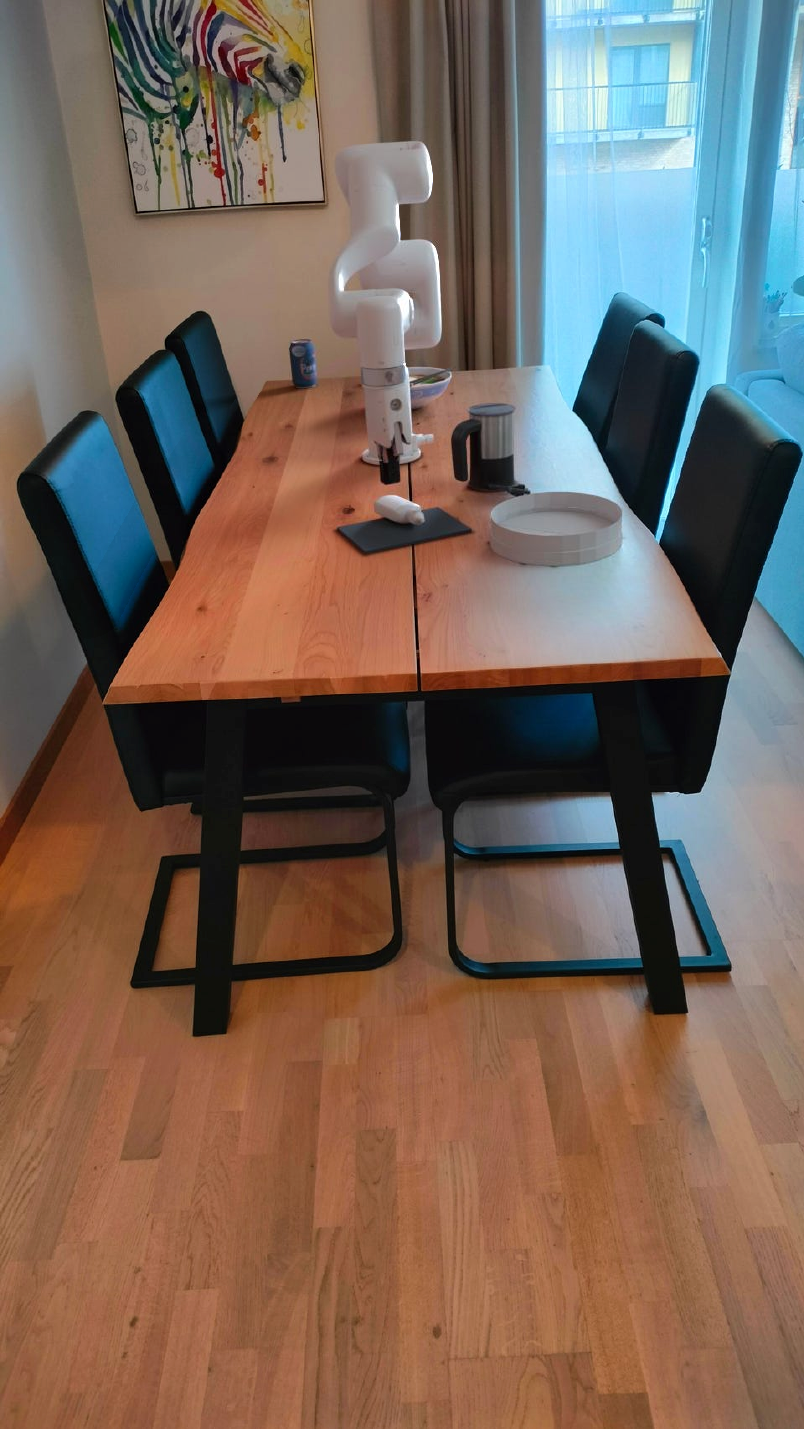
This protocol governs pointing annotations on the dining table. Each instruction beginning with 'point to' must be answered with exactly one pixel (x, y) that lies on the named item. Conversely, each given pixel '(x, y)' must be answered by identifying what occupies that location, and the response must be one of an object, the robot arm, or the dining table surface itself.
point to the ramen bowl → (427, 384)
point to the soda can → (303, 363)
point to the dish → (556, 528)
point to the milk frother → (487, 449)
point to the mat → (402, 531)
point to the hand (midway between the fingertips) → (390, 482)
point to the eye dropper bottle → (399, 510)
